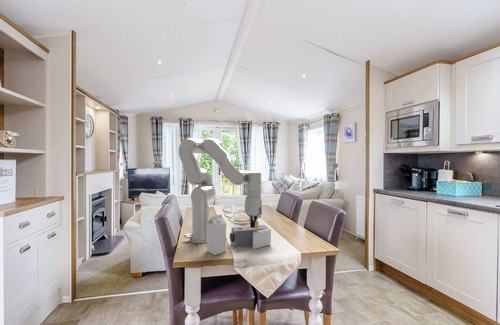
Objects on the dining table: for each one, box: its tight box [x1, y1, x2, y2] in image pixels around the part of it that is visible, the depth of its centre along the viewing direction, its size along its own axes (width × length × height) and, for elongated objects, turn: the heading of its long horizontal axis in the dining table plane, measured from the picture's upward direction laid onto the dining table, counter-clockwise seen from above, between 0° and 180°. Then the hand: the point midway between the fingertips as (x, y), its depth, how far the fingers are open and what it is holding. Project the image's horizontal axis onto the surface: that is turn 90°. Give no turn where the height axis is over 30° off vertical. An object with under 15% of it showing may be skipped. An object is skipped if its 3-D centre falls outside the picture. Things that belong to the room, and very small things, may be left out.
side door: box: [252, 220, 272, 250], centre depth 146 cm, size 12×2×14 cm, turn 129°
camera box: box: [229, 224, 271, 249], centre depth 151 cm, size 22×8×10 cm, turn 109°
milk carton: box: [206, 213, 227, 256], centre depth 138 cm, size 7×7×19 cm
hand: (253, 227), depth 147 cm, fingers closed
